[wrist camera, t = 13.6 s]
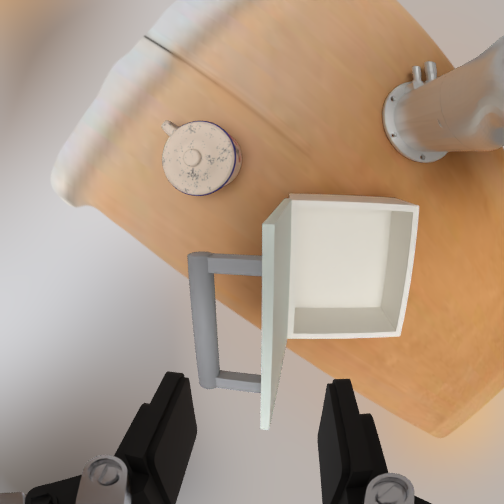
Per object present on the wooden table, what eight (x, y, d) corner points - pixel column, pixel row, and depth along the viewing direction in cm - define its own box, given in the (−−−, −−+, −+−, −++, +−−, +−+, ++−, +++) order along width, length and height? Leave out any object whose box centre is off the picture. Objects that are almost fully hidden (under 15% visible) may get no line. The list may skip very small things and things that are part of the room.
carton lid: (291, 198, 36) (231, 197, 37) (274, 224, 20) (173, 222, 21) (286, 340, 41) (235, 335, 42) (269, 430, 25) (195, 418, 26)
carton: (289, 193, 44) (291, 200, 36) (394, 197, 43) (419, 205, 35) (286, 309, 49) (287, 338, 41) (382, 308, 48) (400, 336, 39)
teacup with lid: (257, 157, 44) (249, 154, 32) (214, 203, 46) (193, 215, 35) (197, 104, 42) (171, 86, 31) (157, 149, 44) (121, 147, 33)
